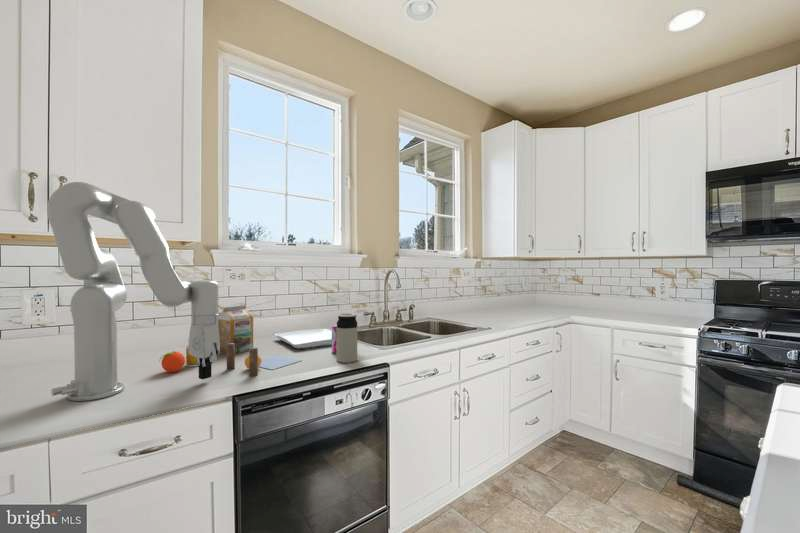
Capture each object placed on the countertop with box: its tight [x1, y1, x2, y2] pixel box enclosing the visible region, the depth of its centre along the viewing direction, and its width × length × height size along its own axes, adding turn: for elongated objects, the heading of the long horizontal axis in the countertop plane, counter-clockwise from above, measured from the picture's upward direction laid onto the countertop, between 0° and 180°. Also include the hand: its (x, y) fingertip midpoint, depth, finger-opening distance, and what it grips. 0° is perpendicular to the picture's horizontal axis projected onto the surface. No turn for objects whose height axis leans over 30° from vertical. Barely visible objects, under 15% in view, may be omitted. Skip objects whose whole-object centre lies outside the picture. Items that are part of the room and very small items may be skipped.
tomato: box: [158, 350, 186, 373], centre depth 126 cm, size 8×7×7 cm
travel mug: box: [336, 312, 358, 364], centre depth 142 cm, size 8×8×18 cm
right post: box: [248, 347, 259, 377], centre depth 123 cm, size 3×3×9 cm
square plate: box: [274, 328, 332, 349], centre depth 174 cm, size 27×27×4 cm
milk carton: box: [218, 304, 254, 355], centre depth 156 cm, size 11×11×19 cm
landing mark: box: [258, 354, 303, 371], centre depth 138 cm, size 14×14×1 cm
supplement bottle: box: [185, 338, 199, 368], centre depth 134 cm, size 5×5×10 cm
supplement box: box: [331, 324, 337, 355], centre depth 154 cm, size 6×6×12 cm
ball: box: [244, 354, 262, 369], centre depth 130 cm, size 6×6×6 cm
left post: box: [226, 343, 236, 371], centre depth 130 cm, size 3×3×9 cm
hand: (205, 377), depth 115 cm, fingers closed
